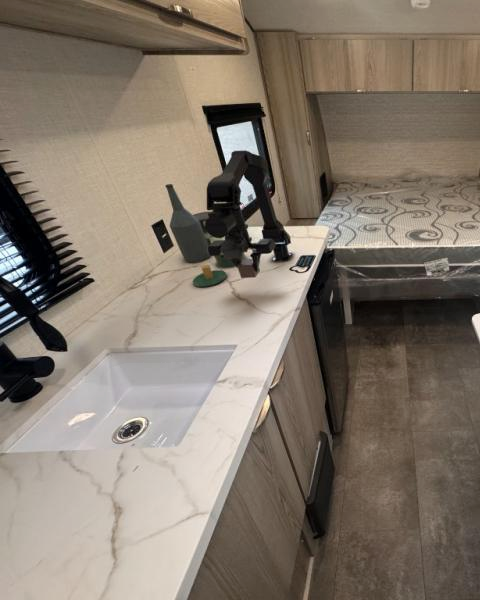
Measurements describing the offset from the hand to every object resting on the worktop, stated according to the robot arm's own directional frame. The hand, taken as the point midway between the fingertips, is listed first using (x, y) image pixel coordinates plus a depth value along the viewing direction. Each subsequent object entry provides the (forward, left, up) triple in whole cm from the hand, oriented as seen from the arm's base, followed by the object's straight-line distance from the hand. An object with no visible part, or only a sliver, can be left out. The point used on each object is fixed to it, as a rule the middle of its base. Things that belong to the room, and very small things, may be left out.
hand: (249, 271), depth 104 cm
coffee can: (-45, -35, -10) cm, 58 cm away
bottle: (-33, -36, -10) cm, 50 cm away
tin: (-28, -20, -10) cm, 35 cm away
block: (0, 0, -1) cm, 1 cm away
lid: (-13, -22, -9) cm, 27 cm away
